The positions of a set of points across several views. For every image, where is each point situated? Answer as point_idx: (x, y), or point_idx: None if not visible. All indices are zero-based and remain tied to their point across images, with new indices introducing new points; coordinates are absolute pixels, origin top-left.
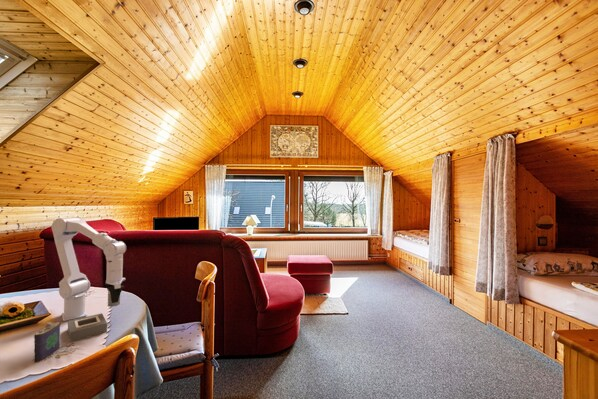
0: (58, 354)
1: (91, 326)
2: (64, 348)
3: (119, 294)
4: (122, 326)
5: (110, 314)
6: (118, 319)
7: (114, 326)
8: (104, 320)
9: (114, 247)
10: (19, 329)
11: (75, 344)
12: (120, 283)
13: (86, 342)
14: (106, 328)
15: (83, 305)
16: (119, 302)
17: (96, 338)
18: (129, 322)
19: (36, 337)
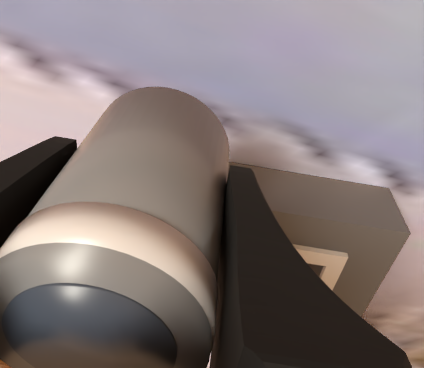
0: (410, 359)
1: (362, 298)
2: None
3: (287, 247)
4: (413, 84)
5: (49, 58)
6: (226, 52)
7: (347, 125)
8: (337, 227)
9: None
10: (5, 365)
11: (381, 311)
12: None
13: (414, 284)
14: (394, 205)
15: None
16: (201, 116)
17: (420, 247)
18: (392, 6)
19: None
